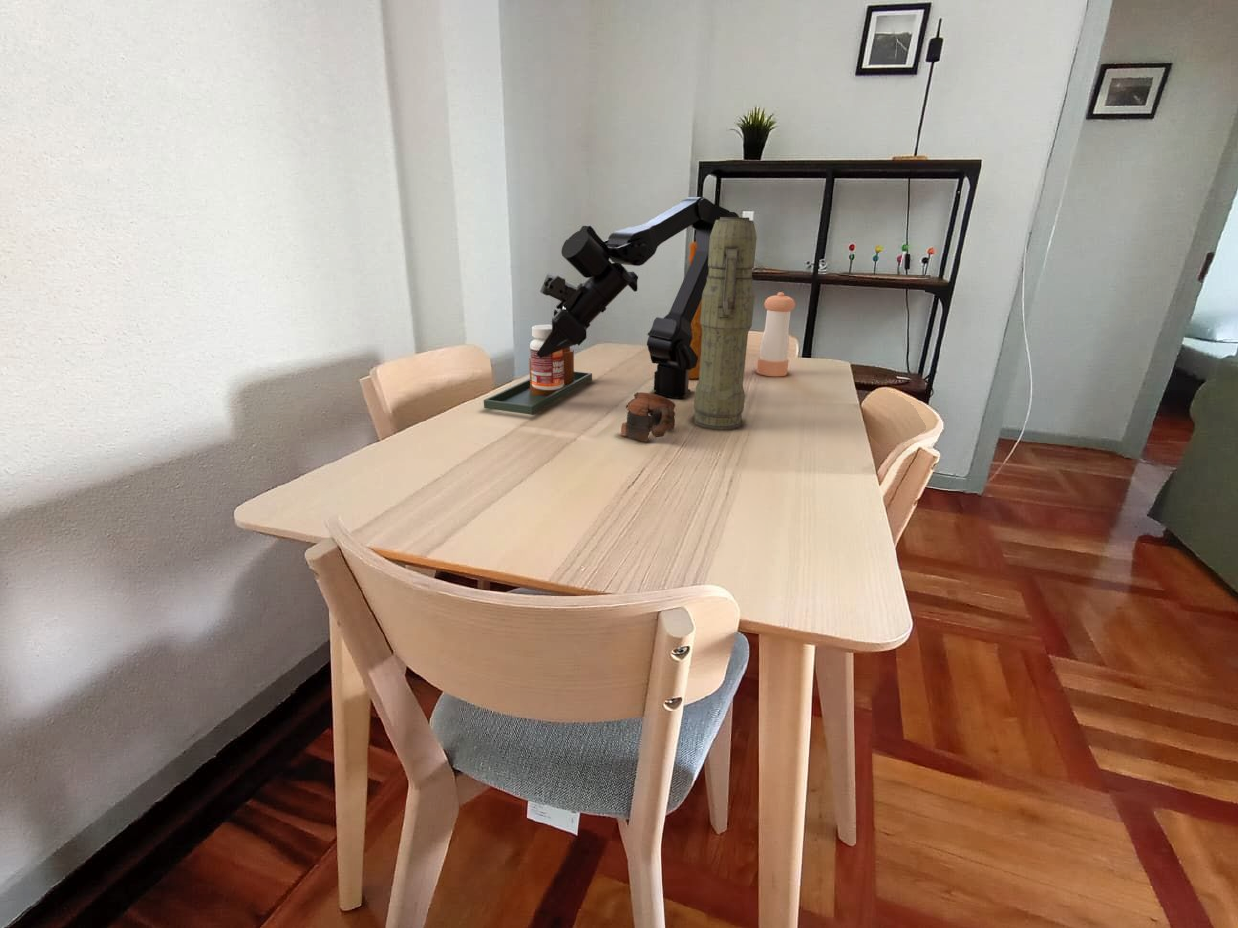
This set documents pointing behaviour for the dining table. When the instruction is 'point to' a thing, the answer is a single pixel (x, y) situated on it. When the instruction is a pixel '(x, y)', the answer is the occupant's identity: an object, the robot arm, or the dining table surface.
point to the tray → (532, 396)
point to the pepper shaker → (775, 336)
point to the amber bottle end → (568, 365)
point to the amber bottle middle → (538, 391)
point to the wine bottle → (695, 327)
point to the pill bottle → (545, 362)
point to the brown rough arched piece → (642, 422)
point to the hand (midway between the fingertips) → (539, 352)
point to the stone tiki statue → (725, 324)
